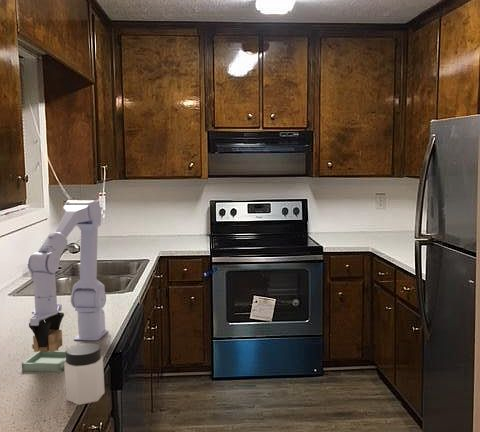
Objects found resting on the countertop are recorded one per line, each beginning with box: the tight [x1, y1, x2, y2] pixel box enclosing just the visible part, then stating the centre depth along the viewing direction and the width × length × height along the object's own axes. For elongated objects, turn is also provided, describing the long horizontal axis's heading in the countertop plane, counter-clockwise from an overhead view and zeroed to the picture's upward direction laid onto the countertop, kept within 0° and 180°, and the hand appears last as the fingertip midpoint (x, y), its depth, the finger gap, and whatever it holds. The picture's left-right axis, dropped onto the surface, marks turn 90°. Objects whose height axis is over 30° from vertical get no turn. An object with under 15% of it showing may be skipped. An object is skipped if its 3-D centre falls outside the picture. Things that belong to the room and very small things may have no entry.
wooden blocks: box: [31, 329, 63, 353], centre depth 150 cm, size 6×7×4 cm
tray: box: [21, 350, 66, 373], centre depth 151 cm, size 10×11×2 cm
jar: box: [64, 342, 105, 406], centre depth 130 cm, size 9×8×12 cm
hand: (48, 342), depth 150 cm, fingers closed on wooden blocks, 6 cm apart
